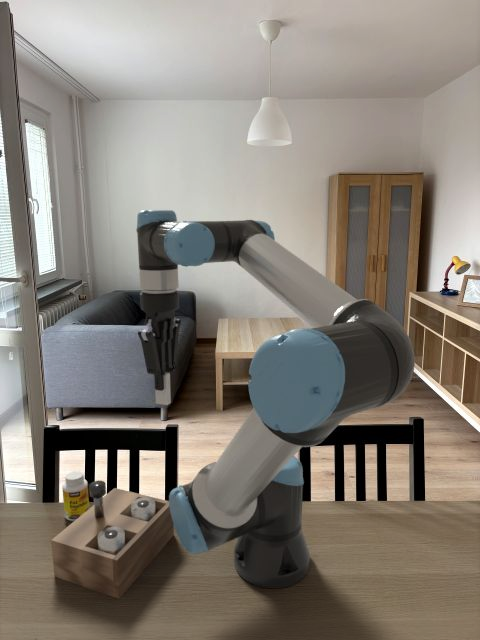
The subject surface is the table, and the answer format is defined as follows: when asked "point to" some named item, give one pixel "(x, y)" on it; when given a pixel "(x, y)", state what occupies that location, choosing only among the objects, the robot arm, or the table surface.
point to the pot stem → (98, 496)
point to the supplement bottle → (75, 495)
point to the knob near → (111, 540)
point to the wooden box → (103, 568)
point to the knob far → (143, 509)
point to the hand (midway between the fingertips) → (163, 403)
